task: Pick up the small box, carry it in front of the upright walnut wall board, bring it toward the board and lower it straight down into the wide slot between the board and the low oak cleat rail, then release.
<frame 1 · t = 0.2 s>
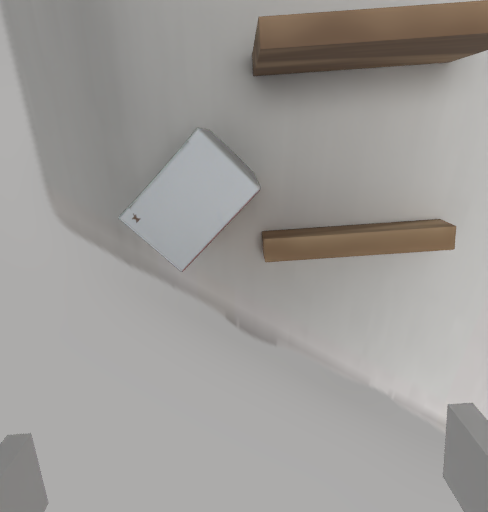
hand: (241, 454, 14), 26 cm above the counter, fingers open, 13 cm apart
small box: (202, 184, 38), on the counter
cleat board: (351, 151, 37), on the counter
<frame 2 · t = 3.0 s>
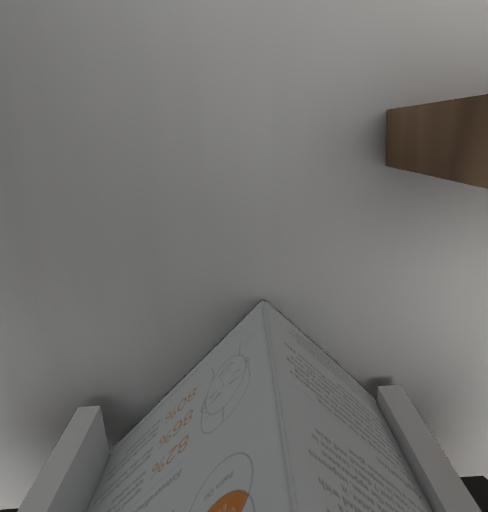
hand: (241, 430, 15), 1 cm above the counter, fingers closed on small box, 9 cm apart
small box: (242, 415, 16), on the counter, touching gripper
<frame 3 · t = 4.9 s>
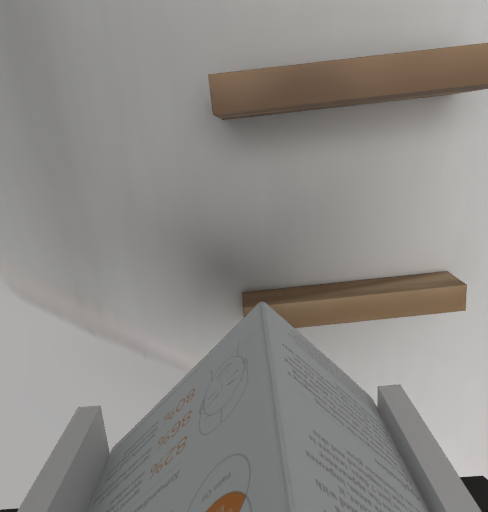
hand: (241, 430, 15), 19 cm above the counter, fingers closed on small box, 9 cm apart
small box: (241, 416, 16), point 18 cm above the counter, touching gripper
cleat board: (340, 199, 32), on the counter
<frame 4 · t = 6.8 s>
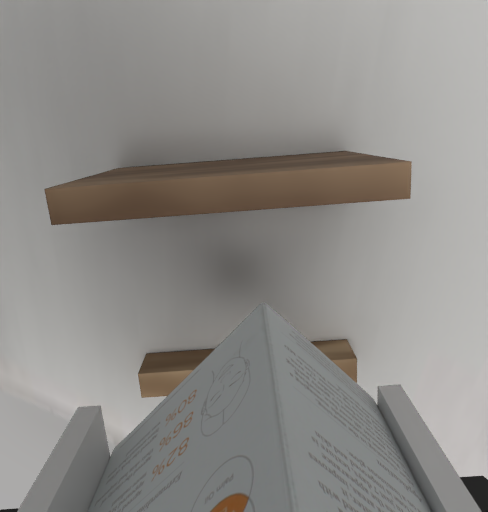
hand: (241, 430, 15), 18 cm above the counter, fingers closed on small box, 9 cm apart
small box: (242, 417, 16), point 18 cm above the counter, touching gripper
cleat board: (240, 269, 32), on the counter
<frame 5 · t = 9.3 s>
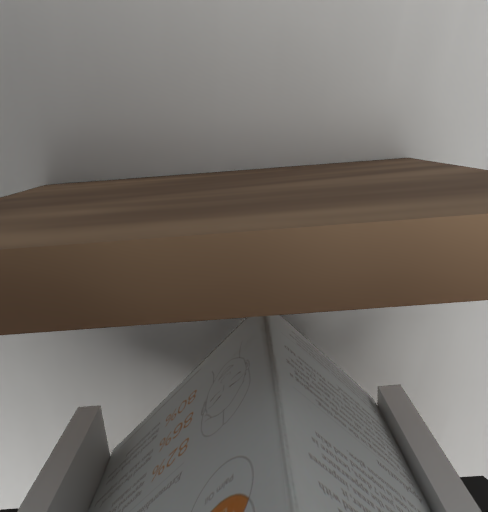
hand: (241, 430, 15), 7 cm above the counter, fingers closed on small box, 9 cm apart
small box: (242, 417, 16), point 6 cm above the counter, touching gripper
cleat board: (240, 337, 21), on the counter
when the fingers open (2 cm above the counter, at t = 11.1 s): small box drops 1 cm, on the counter.
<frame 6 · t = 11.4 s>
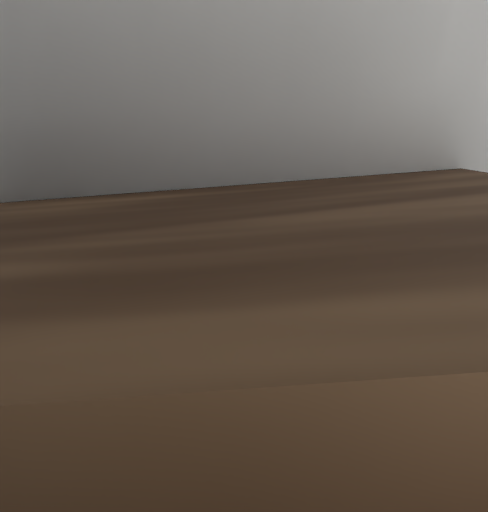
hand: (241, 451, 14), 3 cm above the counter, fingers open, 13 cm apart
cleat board: (241, 395, 17), on the counter
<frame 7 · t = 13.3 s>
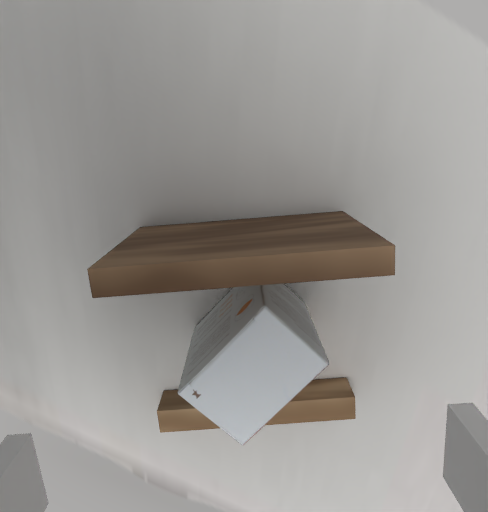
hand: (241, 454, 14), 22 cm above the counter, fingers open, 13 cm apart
small box: (249, 313, 36), on the counter
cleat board: (249, 314, 36), on the counter
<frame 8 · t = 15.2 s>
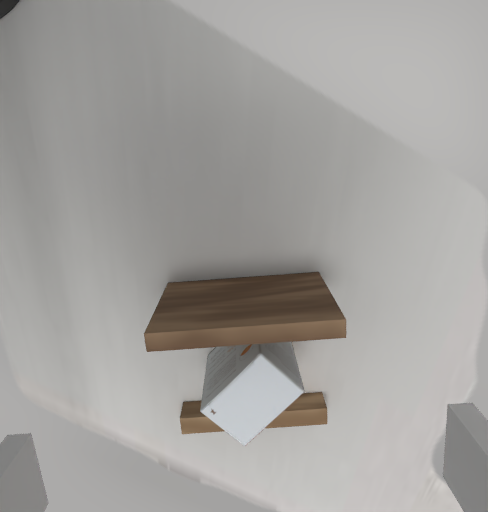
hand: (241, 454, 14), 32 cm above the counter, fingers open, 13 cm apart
small box: (249, 345, 48), on the counter
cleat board: (248, 346, 48), on the counter
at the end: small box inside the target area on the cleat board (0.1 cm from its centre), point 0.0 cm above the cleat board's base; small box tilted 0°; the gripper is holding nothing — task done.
